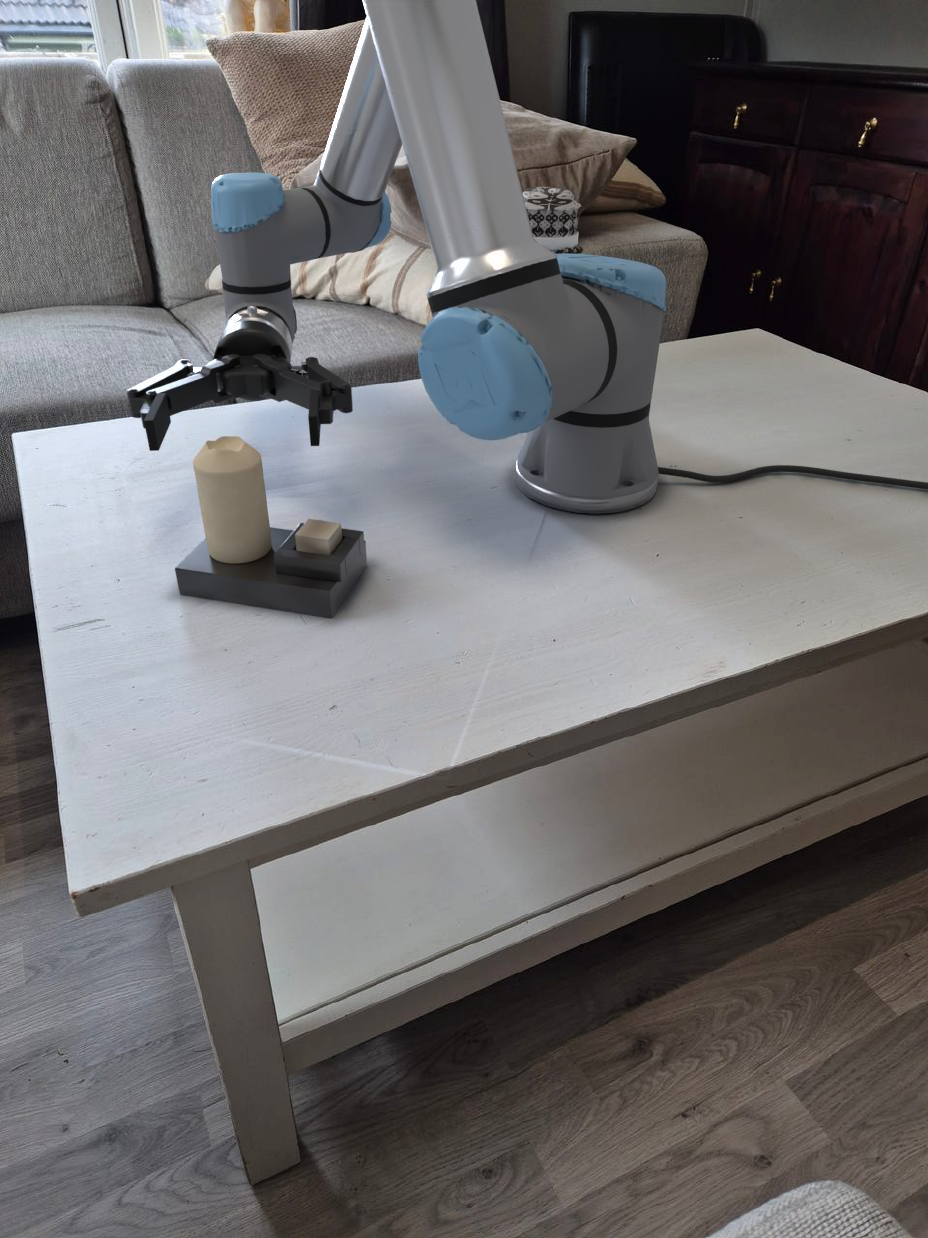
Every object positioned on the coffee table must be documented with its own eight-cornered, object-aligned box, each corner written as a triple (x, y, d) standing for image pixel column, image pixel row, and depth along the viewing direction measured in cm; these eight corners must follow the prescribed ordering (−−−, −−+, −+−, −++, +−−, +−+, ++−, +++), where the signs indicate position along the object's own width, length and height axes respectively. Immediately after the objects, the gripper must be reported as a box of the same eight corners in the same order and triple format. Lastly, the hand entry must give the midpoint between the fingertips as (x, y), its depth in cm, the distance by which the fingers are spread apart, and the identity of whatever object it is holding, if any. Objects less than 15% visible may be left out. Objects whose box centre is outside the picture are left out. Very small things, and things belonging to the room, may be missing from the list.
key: (342, 540, 77) (341, 522, 76) (330, 557, 74) (328, 539, 73) (310, 536, 77) (308, 518, 76) (296, 552, 75) (294, 534, 74)
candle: (257, 567, 76) (242, 458, 70) (197, 560, 76) (177, 452, 71) (281, 537, 80) (269, 432, 74) (224, 530, 81) (208, 426, 75)
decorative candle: (533, 413, 113) (547, 199, 99) (487, 392, 119) (493, 187, 105) (584, 398, 118) (604, 191, 104) (537, 378, 124) (549, 181, 110)
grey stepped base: (371, 566, 81) (369, 522, 79) (336, 619, 74) (333, 573, 72) (226, 545, 84) (220, 502, 82) (179, 594, 77) (170, 549, 74)
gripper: (124, 320, 90) (71, 394, 72) (372, 316, 92) (378, 387, 75) (138, 392, 94) (91, 478, 77) (374, 386, 97) (381, 469, 79)
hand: (233, 433), depth 76 cm, fingers open, 13 cm apart
